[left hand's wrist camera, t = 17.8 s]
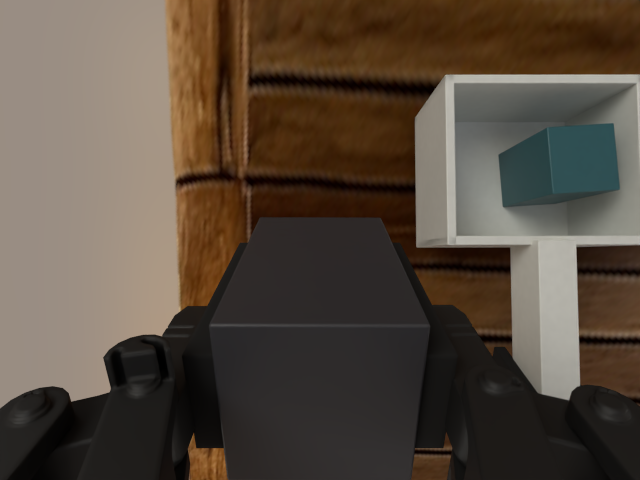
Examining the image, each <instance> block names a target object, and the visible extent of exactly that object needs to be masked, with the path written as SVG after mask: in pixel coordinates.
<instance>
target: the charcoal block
mask: <svg viewBox="0 0 640 480" xmlns="http://www.w3.org/2000/svg"><path fill="white" fill-rule="evenodd" d="M209 330H210V338H211V347H212V355H213V363H214V371H215V379H216V388H217V396H218V404H219V412H220V420H221V429H222V437H223V445H224V453H225V461H226V470H227V477H228V480H411V476H412V468H413V460H414V452H415V444H416V436H417V428H418V420H419V412H420V404H421V396H422V388H423V380H424V372H425V364H426V356H427V348H428V340H429V332H430V324H429V322H428V320H427V318H426V316H425V313H424V311H423V309H422V307H421V305H420V303H419V300H418V298H417V296H416V294H415V292H414V290H413V287H412V285H411V283H410V281H409V279H408V277H407V274H406V272H405V270H404V268H403V266H402V264H401V261H400V259H399V257H398V255H397V253H396V250H395V248H394V246H393V244H392V242H391V240H390V237H389V235H388V233H387V231H386V229H385V227H384V224H383V222H382V220H381V218H260V219H259V221H258V223H257V225H256V227H255V229H254V231H253V233H252V236H251V238H250V240H249V242H248V244H247V246H246V248H245V250H244V252H243V255H242V257H241V259H240V261H239V263H238V265H237V267H236V269H235V271H234V273H233V276H232V278H231V280H230V282H229V284H228V286H227V288H226V290H225V292H224V295H223V297H222V299H221V301H220V303H219V305H218V307H217V309H216V311H215V314H214V316H213V318H212V320H211V322H210V324H209Z"/></svg>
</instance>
